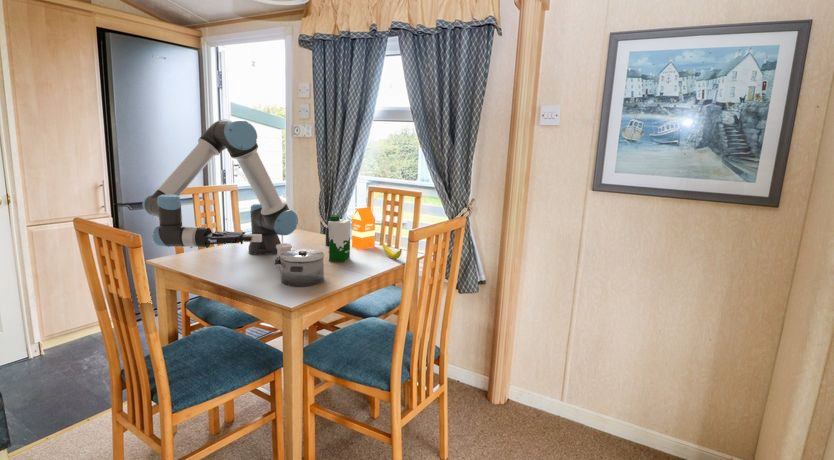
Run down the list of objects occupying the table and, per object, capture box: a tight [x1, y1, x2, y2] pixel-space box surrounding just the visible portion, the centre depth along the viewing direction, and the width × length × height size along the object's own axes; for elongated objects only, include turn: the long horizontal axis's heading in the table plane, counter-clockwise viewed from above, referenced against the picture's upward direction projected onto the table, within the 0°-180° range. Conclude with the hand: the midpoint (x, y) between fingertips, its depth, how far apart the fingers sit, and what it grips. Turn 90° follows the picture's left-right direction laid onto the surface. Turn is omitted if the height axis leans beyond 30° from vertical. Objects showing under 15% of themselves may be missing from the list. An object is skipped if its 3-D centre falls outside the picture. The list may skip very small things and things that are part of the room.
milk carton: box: [327, 214, 351, 263], centre depth 203 cm, size 9×9×20 cm
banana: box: [381, 242, 403, 260], centre depth 210 cm, size 3×19×6 cm, turn 30°
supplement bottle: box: [325, 226, 329, 247], centre depth 231 cm, size 7×7×12 cm
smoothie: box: [276, 235, 293, 269], centre depth 190 cm, size 6×6×14 cm
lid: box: [281, 248, 325, 263], centre depth 173 cm, size 16×16×2 cm
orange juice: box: [351, 206, 376, 250], centre depth 228 cm, size 8×9×20 cm
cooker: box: [274, 255, 325, 288], centre depth 175 cm, size 18×21×9 cm
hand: (261, 238), depth 172 cm, fingers closed
